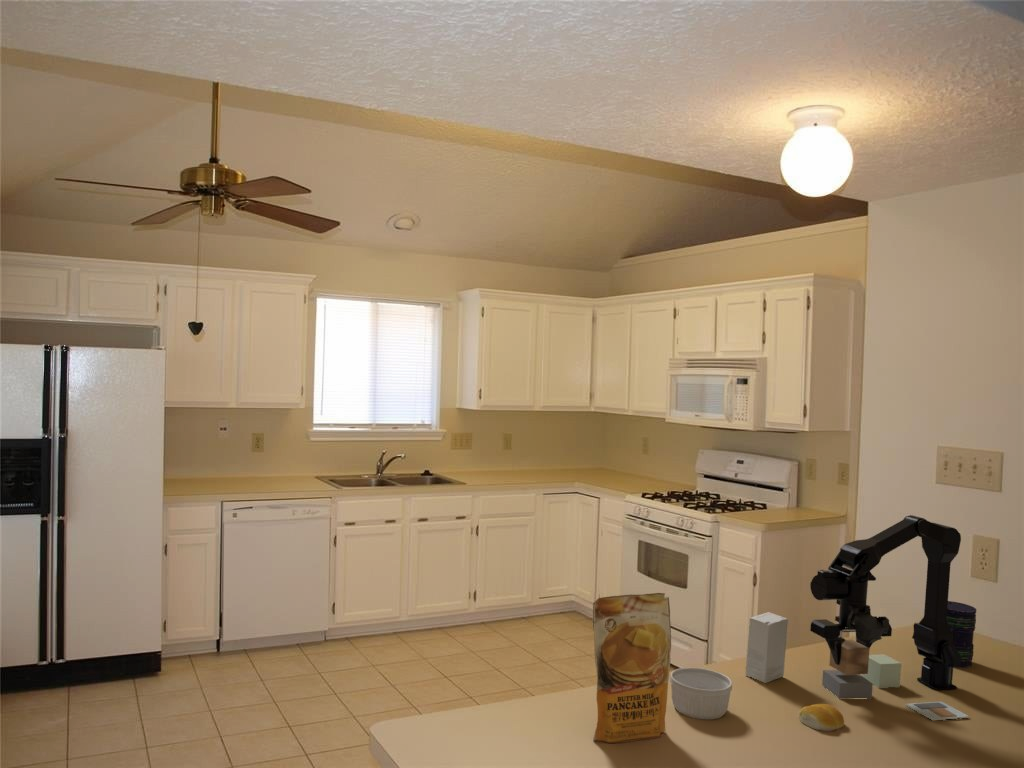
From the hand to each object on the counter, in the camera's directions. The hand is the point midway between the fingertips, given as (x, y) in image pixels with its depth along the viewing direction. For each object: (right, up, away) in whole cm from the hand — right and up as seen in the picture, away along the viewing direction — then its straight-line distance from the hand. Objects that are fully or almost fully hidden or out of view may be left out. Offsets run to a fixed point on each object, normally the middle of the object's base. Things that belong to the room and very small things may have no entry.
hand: (848, 663), depth 195 cm
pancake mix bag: (-57, -4, -29) cm, 64 cm away
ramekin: (-39, -5, -15) cm, 42 cm away
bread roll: (-13, -7, -18) cm, 24 cm away
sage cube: (+11, -7, +8) cm, 15 cm away
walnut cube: (0, -1, 0) cm, 1 cm away
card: (+17, -8, -8) cm, 20 cm away
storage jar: (+39, -9, +27) cm, 48 cm away
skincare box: (-18, -6, +7) cm, 20 cm away
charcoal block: (0, -7, 0) cm, 7 cm away
